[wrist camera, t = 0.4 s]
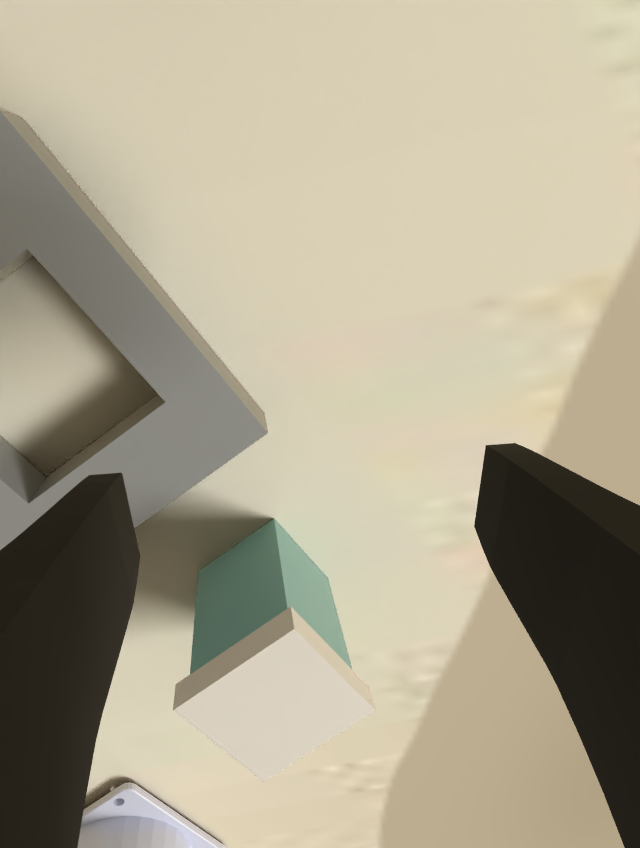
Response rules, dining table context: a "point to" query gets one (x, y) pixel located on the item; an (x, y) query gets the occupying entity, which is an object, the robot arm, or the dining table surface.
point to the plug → (269, 656)
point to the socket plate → (130, 333)
